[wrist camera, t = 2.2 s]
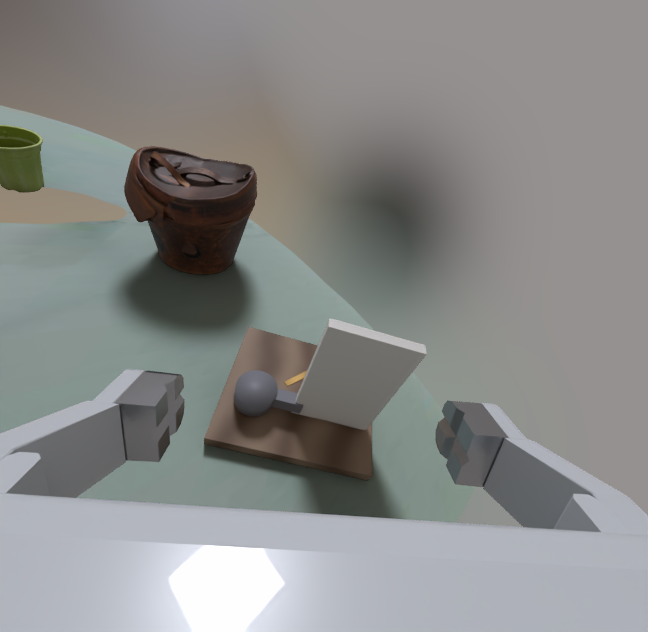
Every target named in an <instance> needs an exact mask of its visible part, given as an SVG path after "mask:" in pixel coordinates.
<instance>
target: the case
mask: <svg viewBox="0 0 648 632" xmlns="http://www.w3.org/2000/svg"><path fill="white" fill-rule="evenodd" d="M256 181H257V177H256V173H255V171H254V169H253V168H252V167H251V166H249V165H246V164H238V163H233V162H227V161H217V160H212V159H202V158H200V157H197V156H194V155H191V154H188V153H185V152H181V151H177V150H174V149H168V148H163V147H154V146H152V147H144V148H141V149H139V150H138V151H137V152H136V153H135V154H134V156H133V158H132V160H131V163H130V166H129V170H128V173H127V177H126V182H125V189H124V191H125V196H126V199H127V202H128V204H129V206H130V209H131V210H132V212H133V213H134V216H135V217H136V219H137V221H138V222H144V221H148V223H149V226H150V229H151V232H152V234H153V237H154V240H155V242H156V245H157V248H158V253H159V255H160V257H161V259H162V260H163V261H164V262H165V263H166V264H168V265H169V266H171V267H173V268H175V269H177V270H180V271H183V272H187V273H191V274H214V273H218V272H221V271H223V270H225V269H227V268H228V267H229V266H230V265H231V264H232V262H233V259H234V256H235V254H236V251H237V248H238V245H239V243H240V240H241V237H242V235H243V232H244V229H245V226H246V223H247V221H248V218H249V216H250V213H251V211H252V210H253V207H254V205H255V199H256V197H257V190H256V189H257V187H256V184H257V182H256Z"/></svg>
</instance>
